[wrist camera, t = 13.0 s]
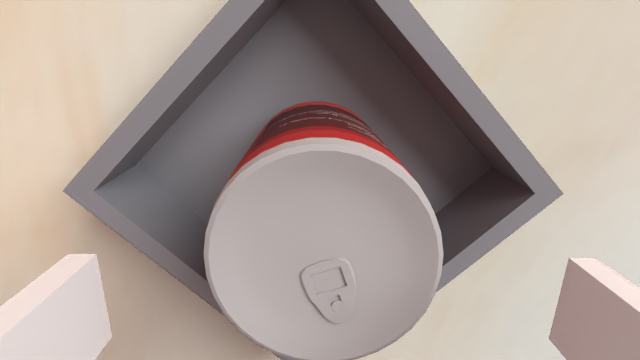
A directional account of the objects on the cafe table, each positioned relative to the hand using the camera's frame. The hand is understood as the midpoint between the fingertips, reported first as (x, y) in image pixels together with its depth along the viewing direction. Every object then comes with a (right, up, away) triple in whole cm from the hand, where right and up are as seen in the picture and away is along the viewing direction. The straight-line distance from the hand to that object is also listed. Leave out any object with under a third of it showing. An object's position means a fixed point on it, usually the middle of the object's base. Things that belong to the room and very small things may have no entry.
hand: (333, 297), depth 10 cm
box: (-1, +4, +12) cm, 13 cm away
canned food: (-1, +4, +12) cm, 12 cm away
